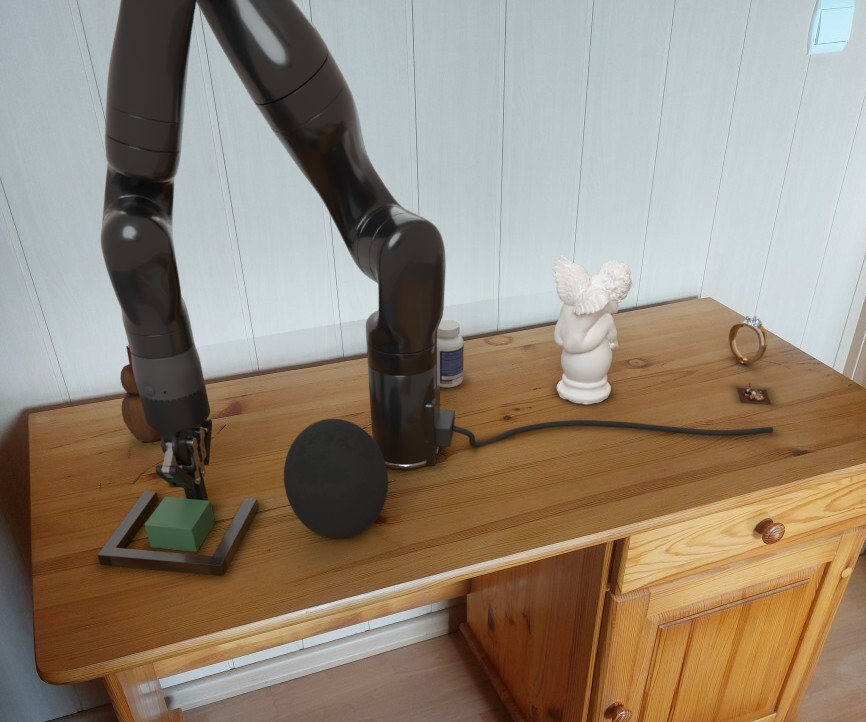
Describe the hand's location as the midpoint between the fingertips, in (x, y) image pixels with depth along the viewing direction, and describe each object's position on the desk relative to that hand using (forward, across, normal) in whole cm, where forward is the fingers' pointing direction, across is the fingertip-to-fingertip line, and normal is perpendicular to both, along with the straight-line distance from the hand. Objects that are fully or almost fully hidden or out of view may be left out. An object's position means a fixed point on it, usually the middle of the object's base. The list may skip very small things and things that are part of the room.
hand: (198, 503), depth 105 cm
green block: (+1, -5, 0) cm, 5 cm away
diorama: (+1, +41, -76) cm, 87 cm away
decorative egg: (+1, -2, -19) cm, 19 cm away
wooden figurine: (+1, +17, +14) cm, 22 cm away
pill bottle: (+1, +40, -27) cm, 49 cm away
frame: (+1, -5, 0) cm, 5 cm away
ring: (+1, +53, -76) cm, 93 cm away
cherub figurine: (+1, +37, -49) cm, 62 cm away
